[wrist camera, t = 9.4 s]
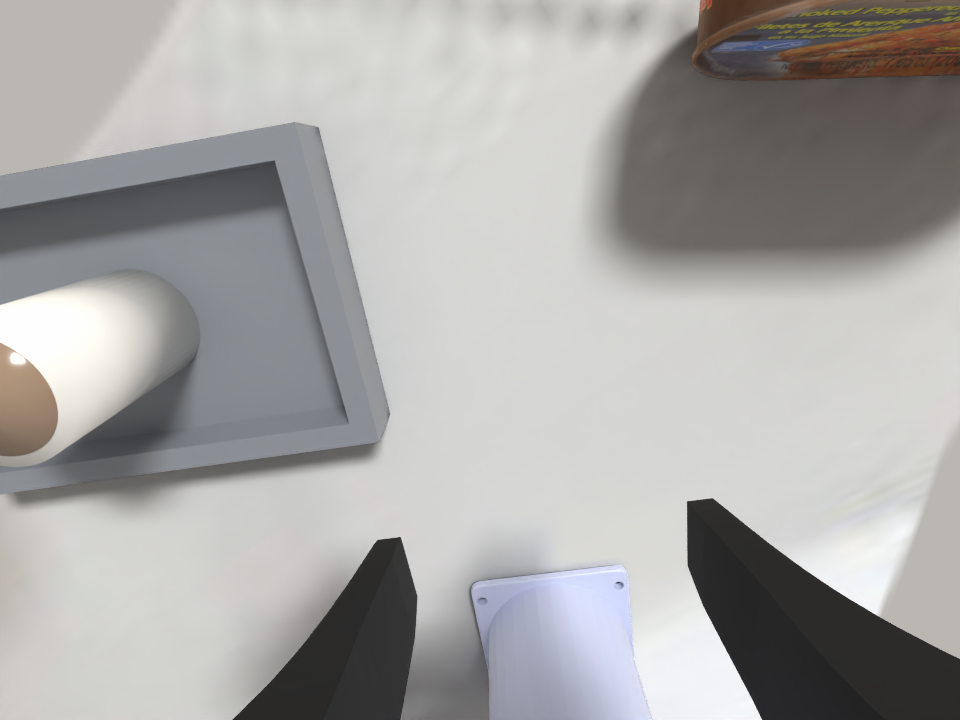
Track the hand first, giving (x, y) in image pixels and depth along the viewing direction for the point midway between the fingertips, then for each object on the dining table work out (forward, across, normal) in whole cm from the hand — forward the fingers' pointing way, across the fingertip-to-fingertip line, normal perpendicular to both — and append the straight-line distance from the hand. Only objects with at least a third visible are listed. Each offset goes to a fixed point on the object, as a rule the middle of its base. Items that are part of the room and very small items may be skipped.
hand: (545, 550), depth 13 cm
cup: (+10, +15, -5) cm, 19 cm away
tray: (+10, +15, -5) cm, 19 cm away
